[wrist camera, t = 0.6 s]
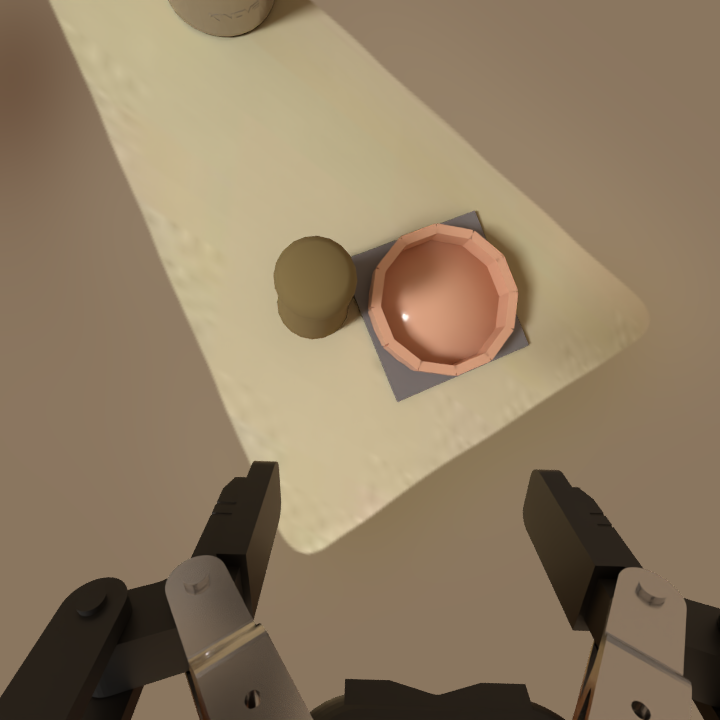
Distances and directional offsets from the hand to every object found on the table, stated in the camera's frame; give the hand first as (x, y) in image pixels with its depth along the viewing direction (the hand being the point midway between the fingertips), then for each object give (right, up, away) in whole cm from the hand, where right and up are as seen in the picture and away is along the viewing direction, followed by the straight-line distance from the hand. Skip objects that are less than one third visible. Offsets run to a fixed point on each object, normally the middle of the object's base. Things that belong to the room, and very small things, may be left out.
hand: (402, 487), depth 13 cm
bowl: (+5, +9, +23) cm, 25 cm away
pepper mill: (-5, +9, +22) cm, 25 cm away
